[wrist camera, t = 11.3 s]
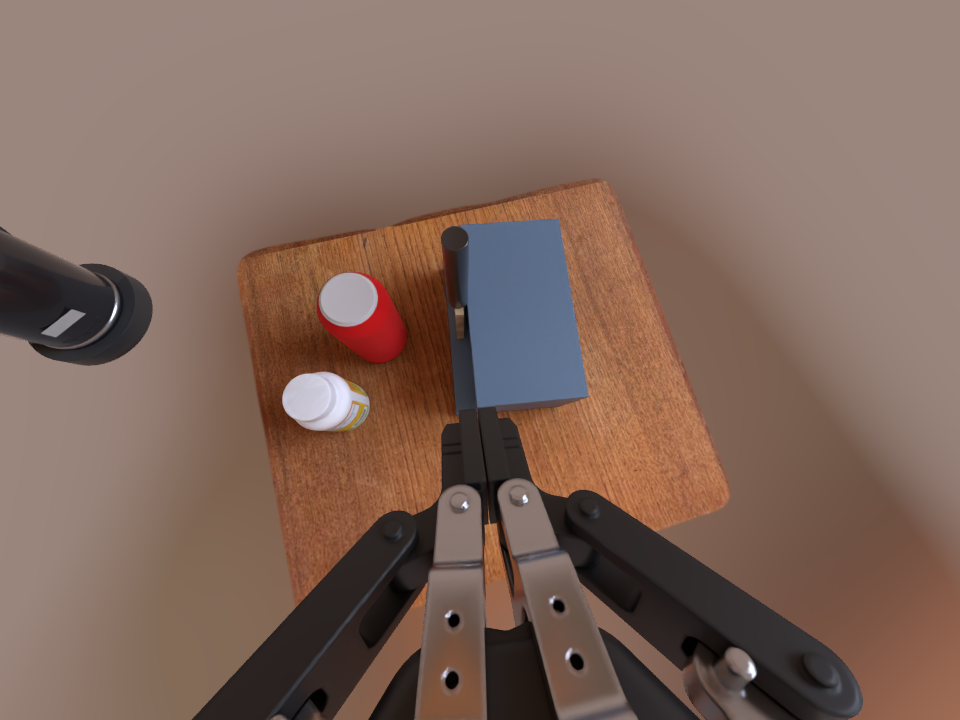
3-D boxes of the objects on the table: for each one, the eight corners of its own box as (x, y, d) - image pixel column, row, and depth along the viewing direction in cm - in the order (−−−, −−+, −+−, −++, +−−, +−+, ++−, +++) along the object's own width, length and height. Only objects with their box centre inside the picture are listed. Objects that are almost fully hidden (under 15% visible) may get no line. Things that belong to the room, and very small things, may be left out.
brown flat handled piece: (452, 339, 39) (442, 260, 21) (446, 271, 41) (433, 148, 23) (468, 338, 39) (471, 258, 22) (462, 270, 41) (459, 147, 23)
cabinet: (456, 416, 38) (454, 409, 30) (444, 268, 42) (439, 225, 34) (562, 405, 39) (588, 396, 31) (540, 261, 43) (558, 218, 34)
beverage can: (371, 305, 41) (334, 251, 29) (418, 328, 40) (399, 283, 28) (344, 350, 39) (293, 313, 28) (392, 374, 39) (361, 346, 27)
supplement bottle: (318, 387, 38) (270, 371, 29) (367, 378, 39) (335, 359, 29) (323, 436, 37) (274, 435, 28) (373, 426, 37) (342, 422, 28)
